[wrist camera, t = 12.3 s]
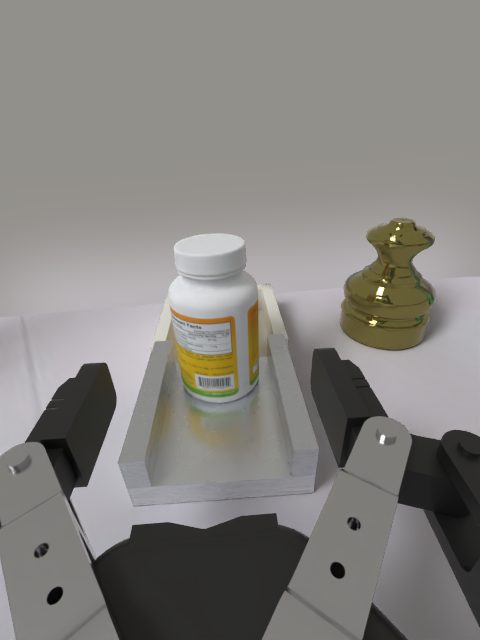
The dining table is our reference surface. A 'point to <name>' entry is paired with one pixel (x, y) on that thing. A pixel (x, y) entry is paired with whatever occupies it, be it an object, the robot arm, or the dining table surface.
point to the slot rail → (219, 436)
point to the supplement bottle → (215, 317)
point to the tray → (267, 321)
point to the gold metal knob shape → (390, 290)
